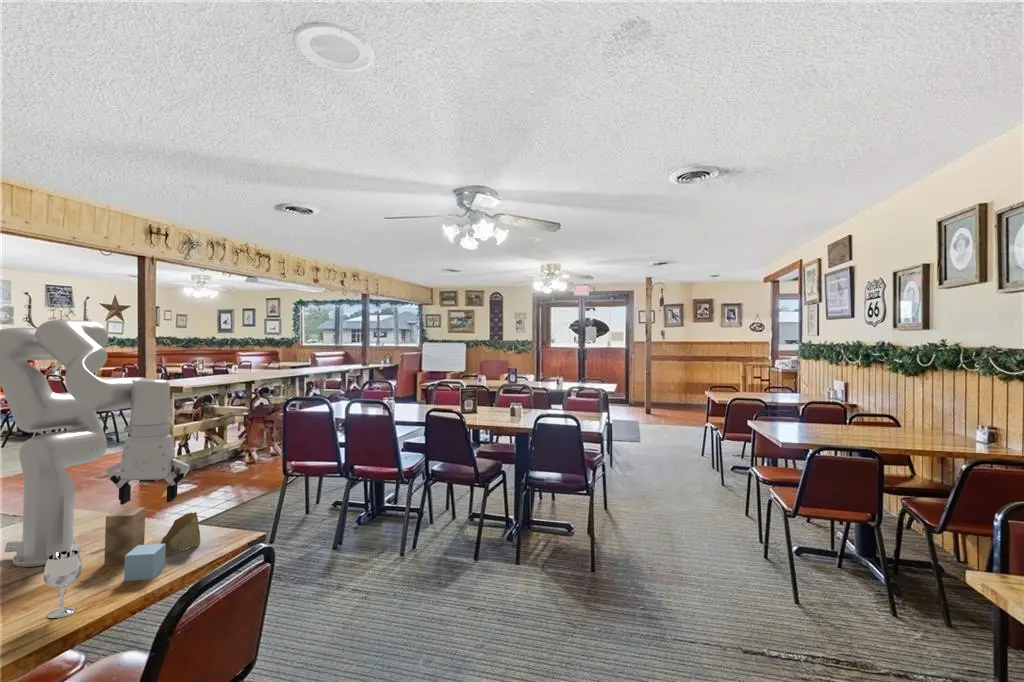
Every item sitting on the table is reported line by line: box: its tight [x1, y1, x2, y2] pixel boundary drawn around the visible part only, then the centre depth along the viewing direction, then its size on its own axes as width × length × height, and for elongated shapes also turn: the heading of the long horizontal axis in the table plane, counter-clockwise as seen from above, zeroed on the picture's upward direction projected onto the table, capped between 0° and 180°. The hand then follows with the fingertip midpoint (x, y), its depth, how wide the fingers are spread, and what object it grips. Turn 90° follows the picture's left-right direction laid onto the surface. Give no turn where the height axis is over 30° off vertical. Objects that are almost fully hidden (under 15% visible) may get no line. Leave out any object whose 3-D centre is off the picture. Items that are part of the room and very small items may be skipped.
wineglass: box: [43, 550, 83, 618], centre depth 101 cm, size 6×6×12 cm
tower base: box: [104, 530, 146, 565], centre depth 126 cm, size 6×6×6 cm
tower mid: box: [104, 506, 146, 542], centre depth 126 cm, size 6×6×6 cm
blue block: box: [123, 543, 166, 582], centre depth 118 cm, size 6×6×6 cm
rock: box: [160, 511, 201, 556], centre depth 132 cm, size 11×9×10 cm
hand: (148, 501), depth 118 cm, fingers open, 9 cm apart
